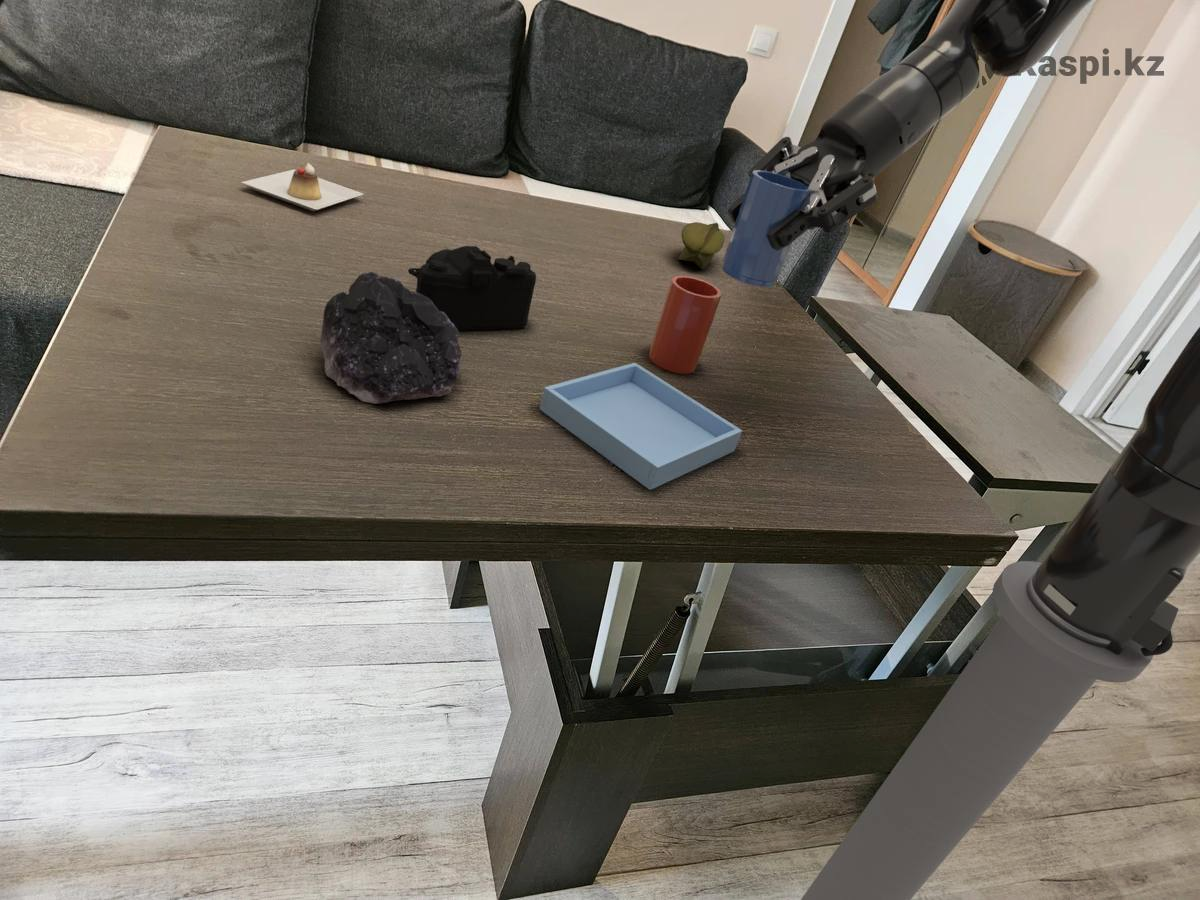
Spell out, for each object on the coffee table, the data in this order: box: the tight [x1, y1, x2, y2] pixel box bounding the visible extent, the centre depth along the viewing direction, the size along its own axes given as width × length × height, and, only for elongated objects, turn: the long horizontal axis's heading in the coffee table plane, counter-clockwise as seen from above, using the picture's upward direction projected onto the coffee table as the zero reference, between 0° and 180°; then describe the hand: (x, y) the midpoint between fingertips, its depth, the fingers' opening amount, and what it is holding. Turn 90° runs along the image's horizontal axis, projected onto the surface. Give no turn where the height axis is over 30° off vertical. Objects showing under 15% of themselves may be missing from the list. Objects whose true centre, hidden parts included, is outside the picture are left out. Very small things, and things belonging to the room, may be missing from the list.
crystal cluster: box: [320, 271, 462, 405], centre depth 76 cm, size 13×14×10 cm
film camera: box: [407, 245, 537, 332], centre depth 92 cm, size 15×10×9 cm, turn 121°
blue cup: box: [721, 170, 810, 288], centre depth 81 cm, size 6×6×10 cm
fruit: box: [678, 221, 725, 270], centre depth 132 cm, size 11×12×7 cm
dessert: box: [241, 162, 365, 212], centre depth 113 cm, size 12×12×5 cm
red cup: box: [648, 275, 723, 375], centre depth 95 cm, size 6×6×10 cm
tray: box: [539, 362, 743, 491], centre depth 81 cm, size 15×14×3 cm
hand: (751, 230), depth 80 cm, fingers closed on blue cup, 6 cm apart
